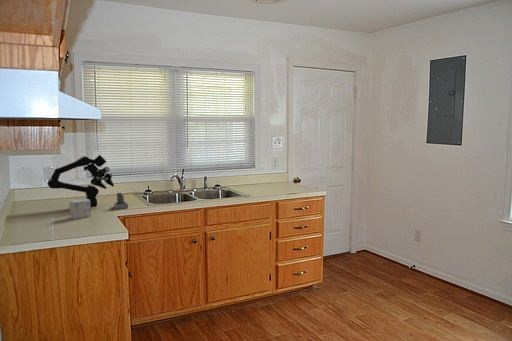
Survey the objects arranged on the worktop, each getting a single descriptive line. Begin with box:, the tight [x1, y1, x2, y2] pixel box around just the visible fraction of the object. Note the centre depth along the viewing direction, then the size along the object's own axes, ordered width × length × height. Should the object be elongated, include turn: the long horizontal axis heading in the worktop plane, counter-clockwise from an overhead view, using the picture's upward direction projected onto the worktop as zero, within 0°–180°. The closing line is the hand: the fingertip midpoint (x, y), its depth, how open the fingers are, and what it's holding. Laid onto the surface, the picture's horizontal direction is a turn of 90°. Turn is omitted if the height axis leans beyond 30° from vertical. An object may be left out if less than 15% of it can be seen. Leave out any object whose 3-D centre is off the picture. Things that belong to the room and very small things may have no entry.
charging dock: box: [113, 201, 129, 210], centre depth 278 cm, size 8×8×3 cm
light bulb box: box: [68, 198, 92, 220], centre depth 252 cm, size 11×7×11 cm, turn 141°
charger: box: [116, 192, 125, 205], centre depth 277 cm, size 4×4×10 cm
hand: (109, 187), depth 279 cm, fingers open, 9 cm apart
